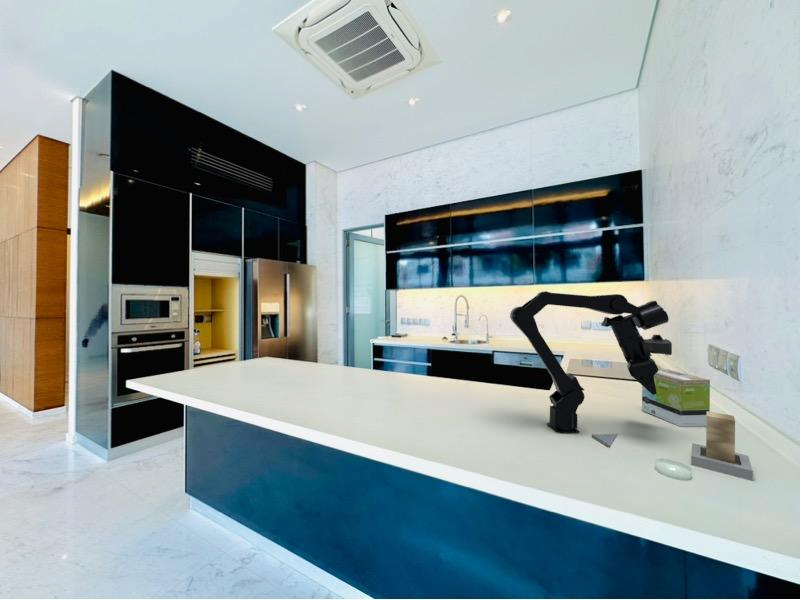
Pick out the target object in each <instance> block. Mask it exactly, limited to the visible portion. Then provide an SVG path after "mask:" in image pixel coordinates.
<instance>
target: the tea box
mask: <svg viewBox="0 0 800 600" xmlns="http://www.w3.org/2000/svg"><path fill="white" fill-rule="evenodd" d="M654 381H655V387H656V392H657V394H654V395H652V394H651V393H650V392H649V391H648V390H647V389H646V388H645V387H644V386H642V385H641V411H642V412H645V413H648V414H650V415H653V416H655V417H657V418H660V419H661V420H664V421H666V422H668V423H671V424H673V425H675V426H677V427H679V428H693V427H694V428H698V427H699V428H701V427H706V421H707V411H708V412H711V410H710V406H711V403H710V402H711V400H710V399H711V398H710V397H711V379H708V378H705V377H701V376H700V377H699V376H695V375H691V374H688V373H684V372H680V371H676V370H671V369H659V370H658V372H657V373H656V374H655V375H654Z"/></svg>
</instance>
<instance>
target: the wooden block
mask: <svg viewBox="0 0 800 600" xmlns="http://www.w3.org/2000/svg"><path fill="white" fill-rule="evenodd" d="M705 427H706V428H705V429H706V431H705V432H706V435H705V436H706V437H705V439H706V441H705V442H706V443H705V446H706V457H707V458H711V459H716V460H720V461H724V462H728V463H732V464H735V453H736V419H735V416H734V415H733V414H732V415H731V414H725V413H720V412H714V411H710V412H708V411H707V421H706V426H705Z"/></svg>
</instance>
